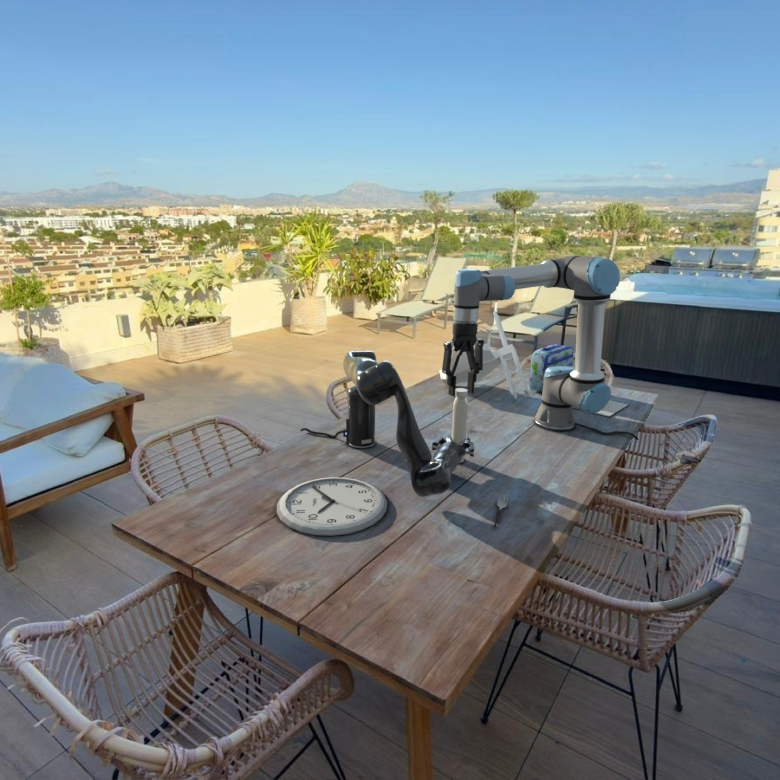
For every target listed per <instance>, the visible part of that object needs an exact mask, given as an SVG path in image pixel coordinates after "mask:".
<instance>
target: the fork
mask: <svg viewBox="0 0 780 780" xmlns="http://www.w3.org/2000/svg"><path fill="white" fill-rule="evenodd" d="M503 497H504V498H503ZM508 498H509V495H507V497H506V493H505V494H502V495H498V499H497V503H496V506H497V507H498V508H499V509H498V511H497V513H496V514H495V520H494V525H493V527H494V528H496V526H497V524H498V523H499V521H500V520H501V519H500V518H501V513H502V509H505V508H506V507H507V506H508V500H509V499H508Z"/></svg>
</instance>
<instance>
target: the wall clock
mask: <svg viewBox="0 0 780 780" xmlns="http://www.w3.org/2000/svg"><path fill="white" fill-rule="evenodd" d="M387 509H388V500H387V498H386V496H385V494H384V493H383V492H382V491H381V490H380V489H379V488H377V487H376V486H374V485H372V484H371V483H369V482H365V481H362V480H359V479H355V478H349V477H338V476H337V477H335V476H333V477H332V476H331V477H322V478H317V479H312V480H307V481H305V482H302V483H299V484H297V485H295V486H293V487H292V488H290V489H288V490H287V491H286V492H285V493H284V494H283V495H281V496H280V498H279V499H278V502H277V503H276V515H277V517H278V518H279V520H280V521H281V522H282V523H283V524H285V525H286V526H287V527H288V528H290V529H293V530H295V531H297V532H299V533H303V534H308V535H312V536H327V537H328V536H329V537H331V536H332V537H333V536H342V535H350V534H352V533H356V532H361V531H363V530H366V529H368V528H369V527H372V526H373V525H375V524H376V523H378V522H379V521H380V520H381V519H382V518H383V517H384V516H385V514H386V512H387Z"/></svg>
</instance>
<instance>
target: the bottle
mask: <svg viewBox="0 0 780 780" xmlns="http://www.w3.org/2000/svg"><path fill="white" fill-rule="evenodd" d="M452 403H453V405H452V419H451V420H452V421H451V434H452V436H451V442H454V443H459V442H461V441H465V439H466V437H467V436H466V435H467V422H468V421H467V419H468V405H469V404H468V401H467V398H466V396H463V397H462V396H456V395H455V399H454V401H453V402H452ZM464 462H465V455H464V456H462V458H461V460H460V462H459V464H461V463H464Z"/></svg>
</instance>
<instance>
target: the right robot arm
mask: <svg viewBox="0 0 780 780" xmlns="http://www.w3.org/2000/svg"><path fill="white" fill-rule="evenodd" d="M454 278H455V279H454V285H453V286H454V293H453V294H454V295H453V296H454V297H453V317H452V319H453V322H452V338H451V340H449V341H444V342H443V360H442V367H441V369H442V373H444V374H446V375H447V385H446V386H448V392H447V393H448V394H447V395H449V396H450V397H453V398H455V397H456V395H455V389H457V387H456V386H457V384H456V376H454V374H455V371H456V368H457V365H458V362H459V359H460V356H461V355H462V353H463V352H466V354H467V358H468V362H469V366H470V371H471V372H468V382H467V383H466V389H467V390H468V393H469V394H471V395H474V394H475V384H477V383H476V378H477V374H479V371H482V369H483V345H484V344H485V340H484V339H481V338H478V337H477V335H478V329H479V323H478V321H479V315H480V302H490V301H491V302H493V301H501V302H502V301H507V300H510V299H512V298H513V297H514V294H515V292H516V290H522V289H530V288H536V287H544V288H546V289H550V288H551V289H552V288H558V289H566V290H571V291H573V299H574V301H575V302H576V303H577V319H576V338H575V353H574V354H575V355H574V356H575V357H574V360H575V361H574V366H572V367H567V366H555V367H549V368H547V369H546V370H545V375H544V380H543V390H542V392H541V402H540V405H539V407H538V410H537V411H536V413H535V417H534V424H535V425H536V426H537V427H539V428H542V429H544V430H549V431H556V432H567V431H572V430H574V429H575V428H576V426H577V427H581V428H583V429H587V430H590V431H594V432H595V433H599V434H601V435H607V436H610V435H617V434H618V435H628V436H630V437H632V438H634V439H635V440H637V441H639V438H638V436H637V435H636V434H634V433H633V432H630V431H622V430H621V431H620V430H614V431H602V430H600V429H597V428H596V427H595V428H594V427H591V426H588V425H586V424H582V423H579V422H576V418H575V417H576V416H575V413H574V409H576V408H577V409H576V410H579V411H581V412H583V413H584V412H586V413H588V414H596V412H599V411H600V410H602V409H603V408H604V407H605V406H606V405H607V403H608V401H609V400H610V399H611V396H612V390H611V389H612V388H611V387H610V386H609V385H608V383H605V378H606V377H605V376H606V375H605V373H604V372H603V371H602V370H601V368H602V367H601V366H602V352H603V338H604V324H605V323H604V322H605V312H606V310H605V309H606V303H607V302H608V301H609V300H610V299H611V295H612V294H613V293H615V292H616V291H617V288H618V287H619V285H620V280H621V272H620V269H619V267H618V265H617V264H616V263H615V262H614V261H613V260H612V259H610V258H606V257H601V256H586V255H584V256H583V255H569V256H562V257H558V258H553V259H546V260H544V261H542V262H541V263H536V264H528V265H527V264H526V265H519V266H518V265H517V266H512V267H503V268H502V267H501V268H495V269H486V270H480V269H475V268H461V269H458V270H457V271H456V272H455V277H454ZM453 345H454V349H453V355H452V348H453ZM474 346H475V352H474ZM457 351H459V352H457ZM474 353H475V355H474ZM451 356H452V358H451ZM574 407H575V408H574Z"/></svg>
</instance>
